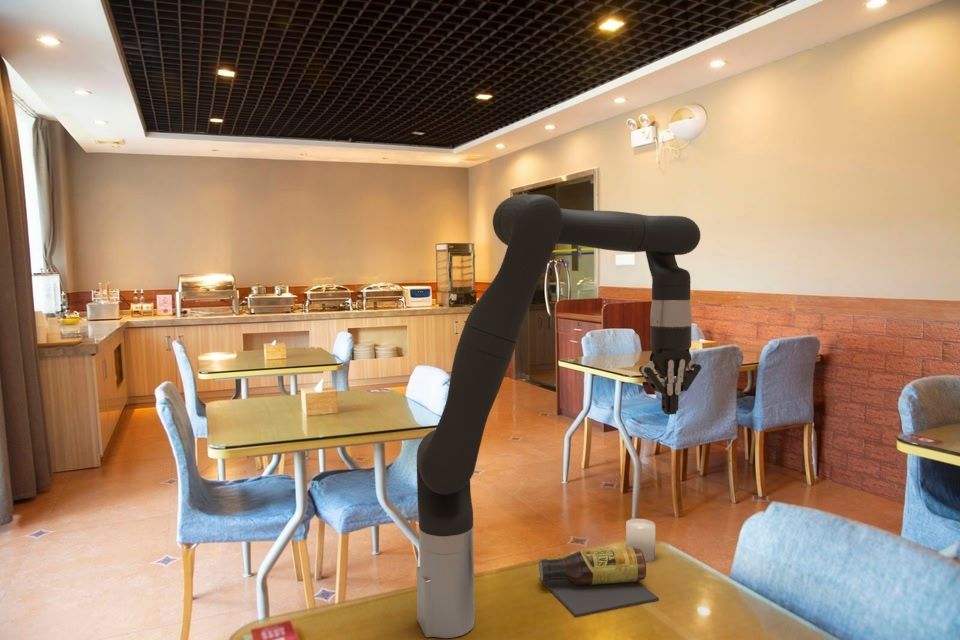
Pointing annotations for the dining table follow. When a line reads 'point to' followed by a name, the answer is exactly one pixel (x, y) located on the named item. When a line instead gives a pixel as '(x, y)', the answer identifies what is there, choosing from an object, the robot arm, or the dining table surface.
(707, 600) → the dining table surface
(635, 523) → the white rounded cylinder
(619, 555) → the sauce bottle
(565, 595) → the bar mat
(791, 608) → the dining table surface
